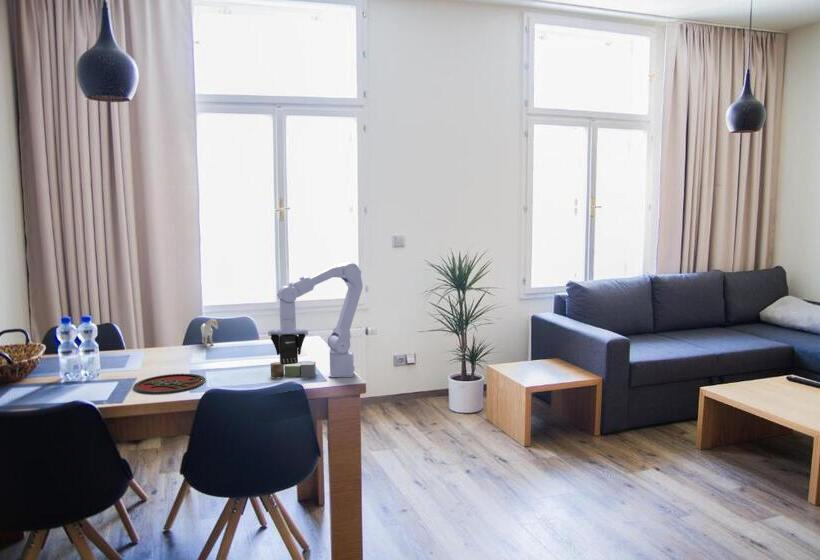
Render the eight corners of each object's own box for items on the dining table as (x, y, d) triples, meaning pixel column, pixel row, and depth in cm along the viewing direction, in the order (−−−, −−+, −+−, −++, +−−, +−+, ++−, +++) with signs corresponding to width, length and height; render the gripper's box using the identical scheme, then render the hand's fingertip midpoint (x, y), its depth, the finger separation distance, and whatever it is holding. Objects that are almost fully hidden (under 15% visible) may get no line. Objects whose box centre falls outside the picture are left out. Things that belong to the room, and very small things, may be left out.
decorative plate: (186, 392, 216) (119, 391, 219) (186, 396, 216) (119, 394, 219) (216, 374, 241) (155, 372, 243) (216, 377, 241) (156, 375, 244)
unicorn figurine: (212, 349, 289) (211, 321, 288) (192, 343, 303) (191, 316, 301) (226, 346, 294) (225, 319, 293) (206, 341, 308) (205, 314, 306)
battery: (281, 365, 229) (280, 335, 227) (278, 363, 232) (278, 333, 231) (299, 364, 232) (299, 333, 230) (297, 361, 235) (296, 332, 234)
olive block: (302, 373, 244) (302, 363, 244) (300, 376, 240) (299, 366, 240) (287, 373, 245) (287, 363, 244) (284, 376, 241) (284, 366, 240)
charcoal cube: (315, 374, 243) (315, 361, 243) (314, 377, 238) (313, 364, 238) (302, 374, 243) (302, 361, 243) (301, 377, 238) (300, 364, 238)
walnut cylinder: (284, 374, 243) (284, 361, 242) (282, 377, 238) (282, 365, 237) (272, 374, 243) (271, 362, 242) (269, 378, 238) (269, 365, 237)
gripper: (308, 316, 234) (309, 351, 236) (270, 316, 234) (271, 352, 235) (306, 319, 227) (307, 355, 229) (266, 320, 227) (267, 356, 228)
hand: (288, 354), depth 231 cm, fingers closed on battery, 7 cm apart
